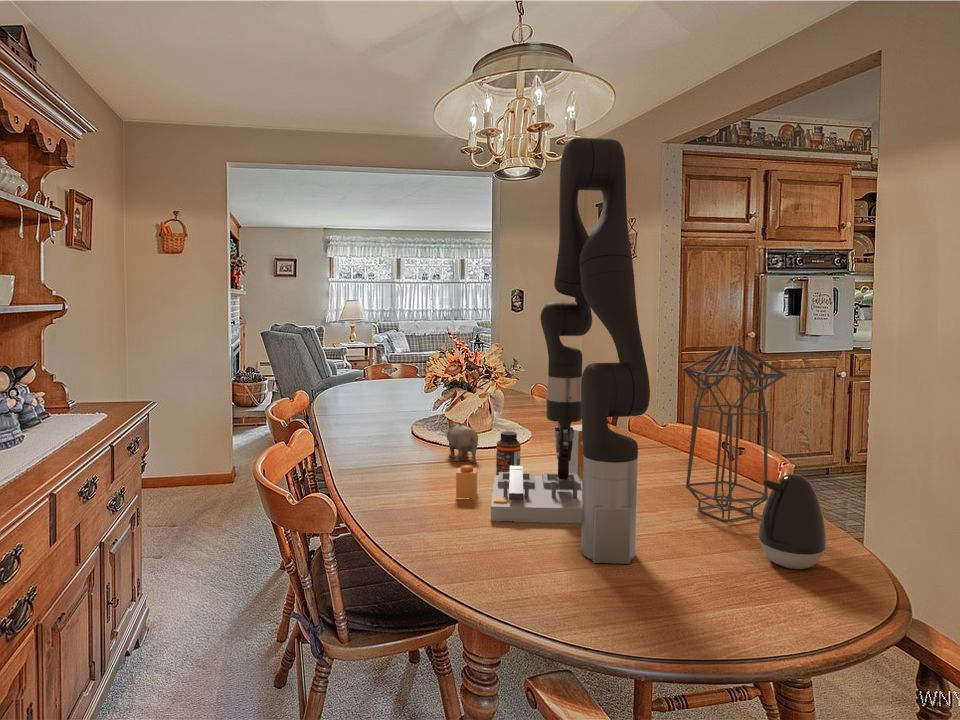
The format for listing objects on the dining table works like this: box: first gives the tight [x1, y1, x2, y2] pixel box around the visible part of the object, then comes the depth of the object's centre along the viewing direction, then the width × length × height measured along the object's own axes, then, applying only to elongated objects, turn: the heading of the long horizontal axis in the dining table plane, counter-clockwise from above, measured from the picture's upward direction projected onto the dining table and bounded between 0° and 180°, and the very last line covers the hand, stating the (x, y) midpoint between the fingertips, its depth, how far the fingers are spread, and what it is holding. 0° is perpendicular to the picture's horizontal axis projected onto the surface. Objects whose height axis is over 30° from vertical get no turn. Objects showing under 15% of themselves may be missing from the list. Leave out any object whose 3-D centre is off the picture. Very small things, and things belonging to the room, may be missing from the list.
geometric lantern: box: [681, 344, 788, 522], centre depth 132 cm, size 16×16×35 cm
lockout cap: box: [455, 464, 478, 500], centre depth 144 cm, size 4×4×7 cm
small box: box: [569, 424, 583, 481], centre depth 158 cm, size 8×6×13 cm
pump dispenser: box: [758, 473, 827, 570], centre depth 107 cm, size 10×10×15 cm
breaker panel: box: [490, 471, 582, 524], centre depth 138 cm, size 23×20×6 cm
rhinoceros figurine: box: [446, 422, 479, 465], centre depth 179 cm, size 8×14×15 cm
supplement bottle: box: [495, 430, 521, 475], centre depth 159 cm, size 6×6×11 cm
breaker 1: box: [509, 465, 524, 500], centre depth 134 cm, size 11×3×2 cm, turn 177°
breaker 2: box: [556, 478, 574, 489], centre depth 133 cm, size 11×3×2 cm, turn 177°
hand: (563, 477), depth 137 cm, fingers closed
